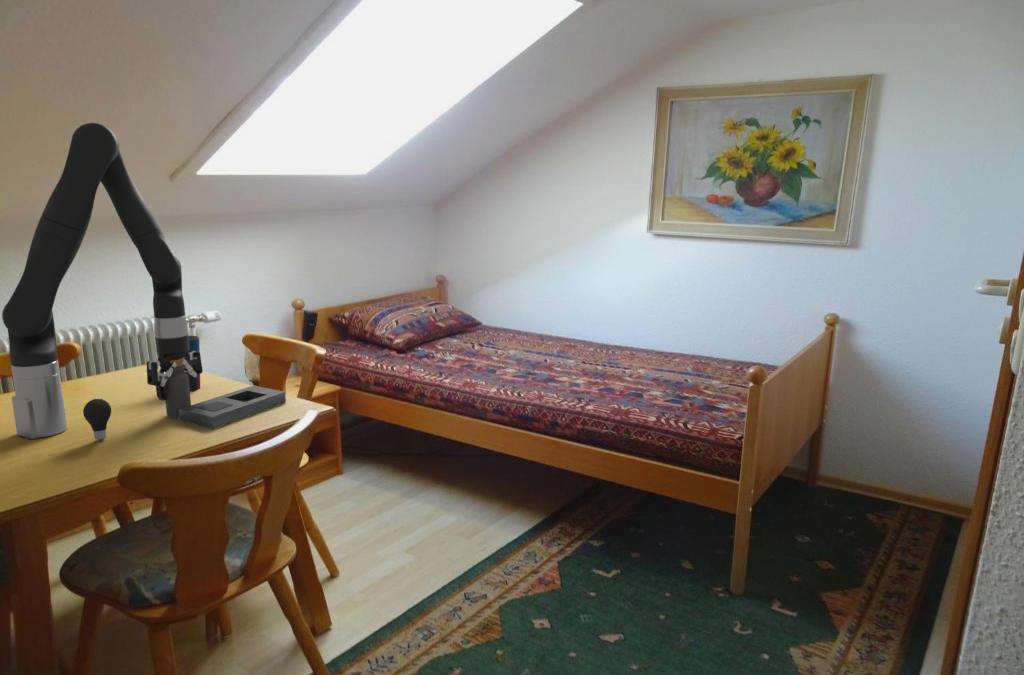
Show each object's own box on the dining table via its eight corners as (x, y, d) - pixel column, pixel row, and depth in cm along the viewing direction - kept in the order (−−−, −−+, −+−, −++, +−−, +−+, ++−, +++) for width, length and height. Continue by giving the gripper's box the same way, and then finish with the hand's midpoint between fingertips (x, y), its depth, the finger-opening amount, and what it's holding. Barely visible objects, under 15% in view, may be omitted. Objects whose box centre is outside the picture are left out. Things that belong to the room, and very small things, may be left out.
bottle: (161, 416, 183) (156, 359, 180) (181, 409, 188) (176, 354, 185) (177, 419, 181) (171, 362, 177) (196, 413, 186) (191, 357, 182)
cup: (172, 390, 205) (167, 339, 201) (189, 384, 211) (185, 334, 208) (192, 393, 203) (187, 341, 199) (208, 386, 209) (204, 336, 206)
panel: (212, 428, 174) (211, 416, 174) (179, 420, 180) (178, 408, 179) (285, 402, 195) (285, 391, 195) (254, 395, 201) (253, 385, 200)
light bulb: (108, 434, 170) (103, 394, 168) (118, 440, 167) (114, 398, 164) (82, 440, 166) (77, 399, 164) (92, 446, 162) (87, 404, 160)
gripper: (156, 341, 172) (162, 405, 175) (205, 330, 184) (211, 390, 188) (135, 337, 175) (142, 400, 179) (185, 327, 188) (191, 386, 191)
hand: (177, 395), depth 183 cm, fingers open, 8 cm apart
